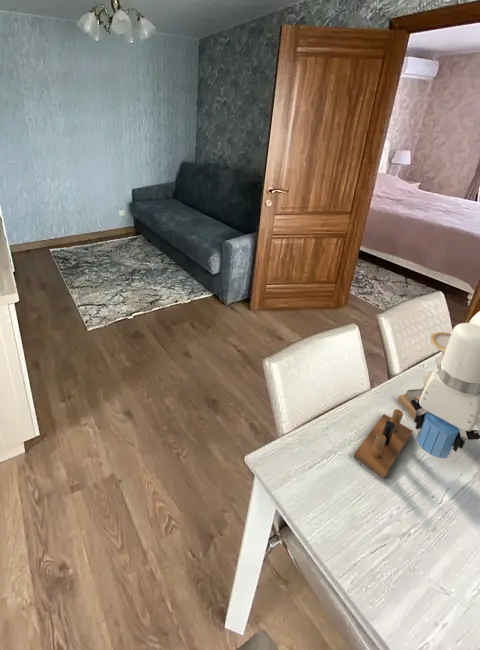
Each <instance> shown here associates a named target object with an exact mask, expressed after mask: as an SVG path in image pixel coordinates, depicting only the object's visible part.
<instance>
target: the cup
mask: <svg viewBox="0 0 480 650" xmlns="http://www.w3.org/2000/svg"><path fill="white" fill-rule="evenodd" d="M459 434H460V432H459V429H458V427H456V426H454V425H452V424H450V423H448V422H447V421H445V420H443V419H441V418H439V417H437V416H435V415H434V414H432V413H430V412H426V413H425V415H424V418H423V421H422V423H421V426H420V428H419V429H418V432H417V434H416V442H417V444H418V445H419V447H420V448H421V449H422V450H423V451H424V452H426V453H427V454H428V455H430V456H432V457H434V458H438V459H447V458H449V457H450V456H451V455H452V453H453V451H454V450H453V447H454V445H455V442H456V440H457V437H458V435H459Z"/></svg>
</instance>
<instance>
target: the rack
mask: <svg viewBox="0 0 480 650" xmlns="http://www.w3.org/2000/svg"><path fill="white" fill-rule="evenodd" d="M403 416H404V413H403V411H402V410H401V409H398V408H396V409H394V410H393V412H392V416H391V417H390V416H389V415H387V414H386V413H383V414H382V415H381V417H380V418H379V419H378V421H377V422H376V423H375V425H374V426H373V428H372V429H371V430H370V431H369V433H368V434H367V435H366V437H365V438H364V439H363V441H362V442H361V444H360V445H359V446H358V448H357V449H356V450H355V452H354V454H353V458H354V459H356V460H357V461H358V462H360V463H361V464H363V465H364V466H365V467H366V468H368V469H369V470H371V471H372V472H373V473H375V474H377V475H378V476H379V477H380V478H382V479H385V478H386V477H387V475H388V473H389V471H390V470H391V468H392V466H393V465H394V463H395V462H396V460H397V458H398V457H399V455H400V453H401V451H402V450H403V448H404V447H405V445H406V444H407V443H408V440H409V438H410V437H411V435H412V433H413V430H412V429H410V428H409V427H407V426H406V425H404V424H402V423H401V421H402V419H403Z"/></svg>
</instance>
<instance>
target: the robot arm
mask: <svg viewBox="0 0 480 650" xmlns="http://www.w3.org/2000/svg"><path fill="white" fill-rule="evenodd" d="M434 369H435V370H434ZM434 369H433V370H434V371H433V373H432V374H431V376H430V378H429V380H428V382H427V384H426V386H425V385H424V386H425V388H424V389H422V388H413V389H407V390H406V391H405V394H406V395H407V396H408V398H409V400H410V401H411V404H412V406H413V407H414V409H415V410H416V411H415V413H416V417H415V419H414V420H413V422H414V423H415V424H416V425H415V427H414V428H415V429H416V430H419V429H420V426H421V423H422V421H423V418H424V415H425V413H426V412H430V413H432V414H434V415H435V416H437V417H439V418H441V419H443V420H445V421H447V422H448V423H450V424H452V425H454V426H456V427H458V429H459V432H460V434H459V435H458V437H457V440H456V442H455V445H454V447H453V450H452V451H454V452H457V451H458V449H459V448H460V449H462V450H463V448H464V446H465V443H466V442H468V441H472V440H473V441H475V440H477V441H478V440H480V310H479V311H478V312H476V313H475V315H473V316H472V318H471V319H470V320H469V322H462V323H458V324H456V325H455V326H454V327H453V328H452V331H451V336H450V339H449V342H448V345H447V347H446V350H445V353H444V356H443V359H442V361H441V364H440V367H439V368H438V369H436V368H434ZM419 396H421V397H420V400H418V399H417V398H416V397H419ZM475 427H477V429H474V428H475Z"/></svg>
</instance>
